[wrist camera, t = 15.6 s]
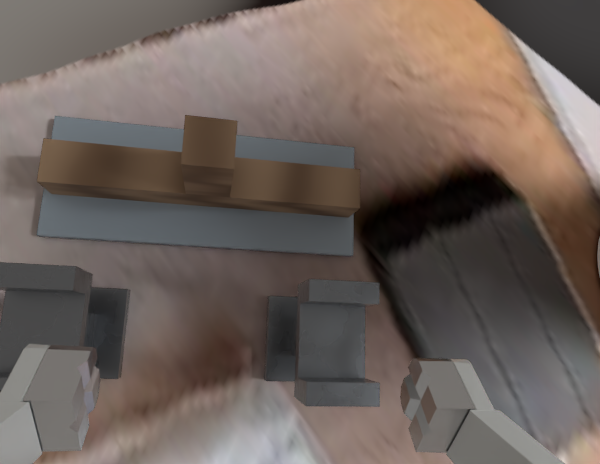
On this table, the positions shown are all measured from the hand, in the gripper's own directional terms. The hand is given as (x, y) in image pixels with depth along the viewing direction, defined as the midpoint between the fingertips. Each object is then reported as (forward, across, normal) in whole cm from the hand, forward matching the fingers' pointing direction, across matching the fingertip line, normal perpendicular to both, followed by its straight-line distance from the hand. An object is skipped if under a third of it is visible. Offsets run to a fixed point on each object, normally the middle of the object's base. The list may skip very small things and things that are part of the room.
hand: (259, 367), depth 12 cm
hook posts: (+16, +3, +16) cm, 23 cm away
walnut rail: (+24, +3, +8) cm, 25 cm away
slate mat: (+24, +3, +8) cm, 26 cm away
